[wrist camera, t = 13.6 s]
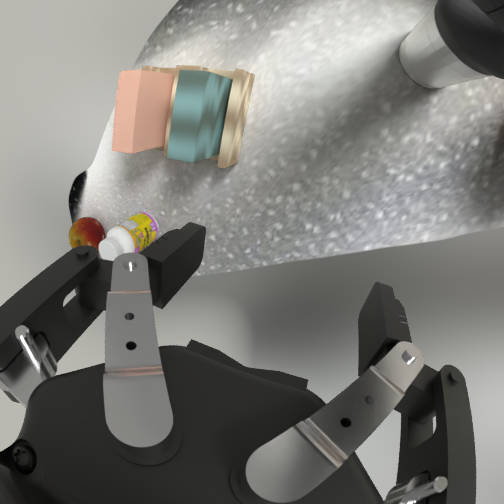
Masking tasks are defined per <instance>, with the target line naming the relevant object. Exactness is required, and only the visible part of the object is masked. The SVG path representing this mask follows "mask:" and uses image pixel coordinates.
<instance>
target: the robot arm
mask: <svg viewBox="0 0 504 504" xmlns="http://www.w3.org/2000/svg"><path fill="white" fill-rule="evenodd" d="M399 58H400V62H401V64H402V67H403V69H404V70H405V72H406V73H407V74H408V76H409V77H410V78H411V79H412V80H414V81H415V82H416V83H418V84H420V85H421V86H424V87H427V88H432V89H437V88H442V87H445V86H450V85H454V84H458V83H462V82H466V81H470V80H475V79H479V78H484V77H488V76H495V77H498V78H501V79H504V0H438V1H437V2H436V3H435V5H434V6H433V7H432V8H431V9H430V10H429V12H428V13H427V14H426V15H425V16H424V17H423V18H422V20H421V21H420V22H419V23H418V24H417V25H416V27H415V28H414V29H413V30H412V31H411V32H410V33H409V34H408V36H407V37H406V38H405V39H404V40H403V42H402V43H401V45H400V49H399ZM205 235H206V228H205V227H204V226H201V225H198V224H195V223H192V222H189V223H188V224H186V225H185V226H184V227H182V228H181V229H180V230H179V229H175V230H172V231H168V232H167V233H165V234H164V235H162V236H161V238H158V239H157V240H156V241H155V242H153V243H152V244H151V245H149V246H148V247H147V248H145V249H144V250H143V251H141V252H140V253H124V254H121V255H119V256H117V257H116V258H115V259H114V261H111V260H105V259H99V255H98V250H97V249H96V248H95V247H93V246H89V245H82V246H78V247H75V248H73V249H72V250H70V251H69V252H67V253H66V254H65V255H64V256H62V257H61V258H59V259H58V260H57V261H55V262H54V263H53V264H51V265H50V266H49V267H47V268H46V269H45V270H44V271H42V272H41V273H40V274H39V275H37V276H36V277H35V278H33V279H32V280H31V281H30V282H29V283H27V284H26V285H25V286H24V287H23V288H21V289H20V290H19V291H18V292H17V293H15V294H14V295H13V296H12V297H11V298H10V299H9V300H7V301H6V302H5V303H4V304H3V305H2V306H1V307H0V388H1V389H2V390H3V391H4V392H5V394H6V395H7V396H8V397H9V398H10V399H11V400H12V401H14V402H17V403H21V404H22V405H23V406H24V407H25V408H26V414H25V418H24V422H23V425H22V429H21V431H20V433H19V436H18V438H17V439H16V441H15V442H14V443H13V444H12V445H11V446H9V447H8V448H6V449H5V450H3V451H1V452H0V504H475V501H476V457H475V442H474V432H473V423H472V416H471V410H470V403H469V398H468V392H467V387H466V382H465V378H464V376H463V375H462V373H461V372H460V371H459V370H458V369H457V368H456V367H454V366H452V365H445V366H443V368H441V370H440V371H439V372H438V371H436V370H434V369H432V368H431V367H429V366H427V365H425V358H424V355H423V353H422V352H421V350H420V349H419V348H418V347H417V346H415V345H414V344H412V341H411V336H410V331H409V327H408V324H407V318H406V314H405V310H404V307H403V306H402V304H401V303H400V301H399V300H397V299H395V296H394V292H393V288H392V286H389V285H386V284H383V283H380V282H376V283H375V284H374V286H373V288H372V290H371V292H370V293H369V295H368V297H367V299H366V301H365V303H364V305H363V307H362V309H361V311H360V314H359V319H358V329H359V367H358V376H360V377H359V378H358V379H357V380H356V381H354V382H353V383H352V384H351V385H350V386H349V387H347V388H346V389H345V390H344V391H342V392H341V393H340V394H339V395H338V396H336V397H335V398H334V399H333V400H331V401H330V402H329V403H327V404H326V403H325V402H324V401H323V400H322V399H321V398H319V397H318V396H317V395H316V394H314V393H313V392H311V391H310V390H308V389H306V388H307V382H308V380H307V379H304V378H300V377H297V376H293V375H290V374H286V373H283V372H280V371H273V370H263V369H255V368H248V367H245V366H243V365H242V364H240V363H238V362H237V361H235V360H234V359H232V358H230V357H229V356H227V355H226V354H224V353H222V352H221V351H219V350H217V349H214V348H212V347H209V346H207V345H204V344H202V343H199V342H197V341H194V340H192V339H191V341H190V342H189V344H188V345H187V347H185V346H175V345H172V346H171V345H169V346H160V347H158V341H157V335H156V328H155V321H154V313H153V305H154V306H156V307H159V308H161V309H163V308H164V307H165V306H166V304H167V303H168V302H169V301H170V300H171V298H173V296H174V295H175V294H176V293H177V292H178V291H179V289H180V288H181V287H182V286H183V285H184V284H185V283H186V281H187V280H188V279H189V278H190V277H191V276H192V275H193V274H194V272H195V271H196V270H197V269H198V268H199V266H200V264H201V262H202V258H203V251H204V243H205ZM73 289H75V292H76V296H74V297H73V298H72V299H71V300H70V301H69V302H68V303H67V304H66V305H65V306H64V307H63V301H64V299H65V297H66V296H67V295H68V294H69V293H70V292H71V291H72V290H73ZM103 310H105V311H106V323H105V363H102V364H99V365H95V366H91V367H88V368H84V369H80V370H76V371H72V372H69V373H65V374H61V375H56V376H55V374H56V372H57V362H58V361H59V360H60V359H61V358H62V356H63V355H64V354H65V353H66V352H67V351H68V350H69V348H70V347H71V346H72V345H73V344H74V343H75V341H76V340H77V339H78V338H79V337H80V336H81V335H82V333H83V332H84V331H85V330H86V329H87V328H88V327H89V326H90V325H91V324H92V322H93V321H94V320H95V319H96V318H97V317H98V316H99V315H100V314H101V312H102V311H103ZM393 409H394V410H396V411H398V412H400V413H401V437H400V438H401V439H400V452H399V463H398V473H397V481H396V486H394V487H393V488H392V489H391V490H390V491H389V492H388V494H387V497H386V500H385V501H383V499H382V497H381V495H380V494H379V492H378V490H377V489H376V487H375V485H374V484H373V482H372V480H371V479H370V477H369V475H368V474H367V472H366V470H365V468H364V467H363V465H362V463H361V462H360V460H359V458H358V456H357V455H356V453H355V450H356V449H357V448H358V447H359V446H360V445H361V444H362V443H363V442H364V441H365V440H366V439H367V438H368V437H369V436H370V435H371V434H372V433H373V432H374V431H375V429H376V428H377V427H378V426H379V425H380V424H381V423H382V422H383V420H384V419H385V418H386V417H387V416H388V415H389V414H390V412H391V411H392V410H393ZM435 416H436V429H435V432H434V434H433V417H435Z"/></svg>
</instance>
